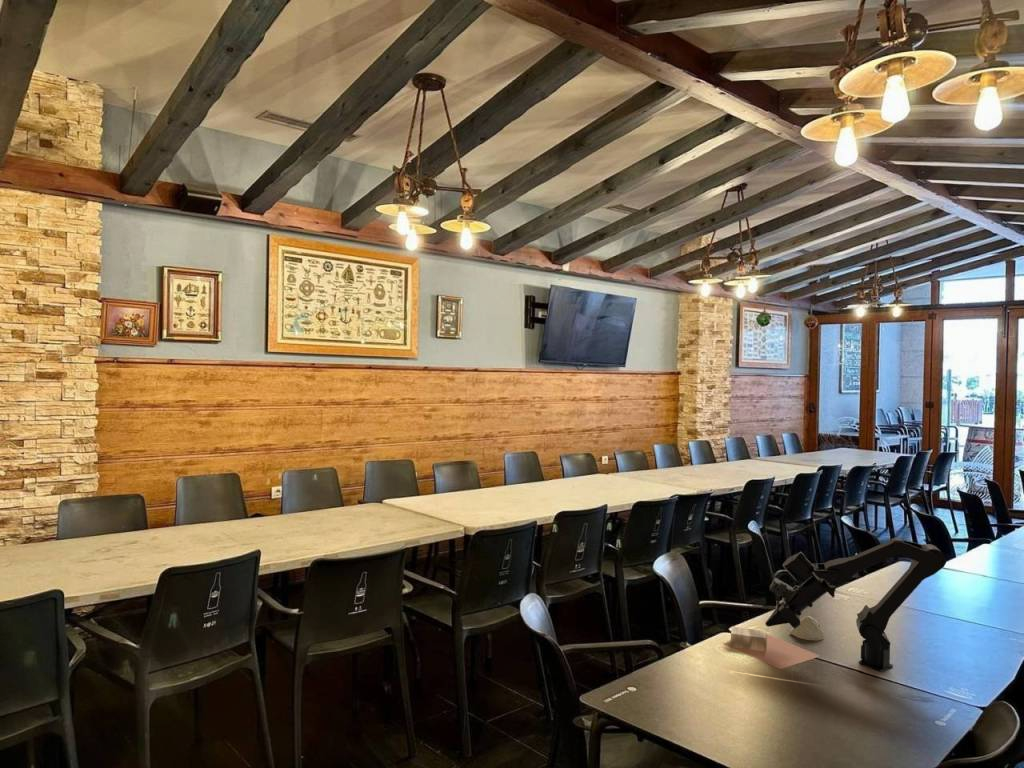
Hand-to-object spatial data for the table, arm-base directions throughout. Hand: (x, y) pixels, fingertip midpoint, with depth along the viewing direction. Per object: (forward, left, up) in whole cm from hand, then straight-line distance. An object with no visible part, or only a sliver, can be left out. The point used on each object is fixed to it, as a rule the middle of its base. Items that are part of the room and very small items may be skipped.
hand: (766, 625), depth 203 cm
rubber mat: (-2, 0, -7) cm, 7 cm away
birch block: (0, 0, -5) cm, 5 cm away
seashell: (0, -20, -8) cm, 22 cm away
